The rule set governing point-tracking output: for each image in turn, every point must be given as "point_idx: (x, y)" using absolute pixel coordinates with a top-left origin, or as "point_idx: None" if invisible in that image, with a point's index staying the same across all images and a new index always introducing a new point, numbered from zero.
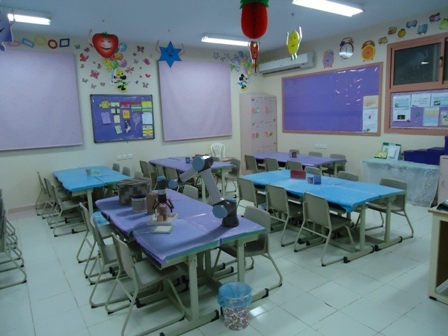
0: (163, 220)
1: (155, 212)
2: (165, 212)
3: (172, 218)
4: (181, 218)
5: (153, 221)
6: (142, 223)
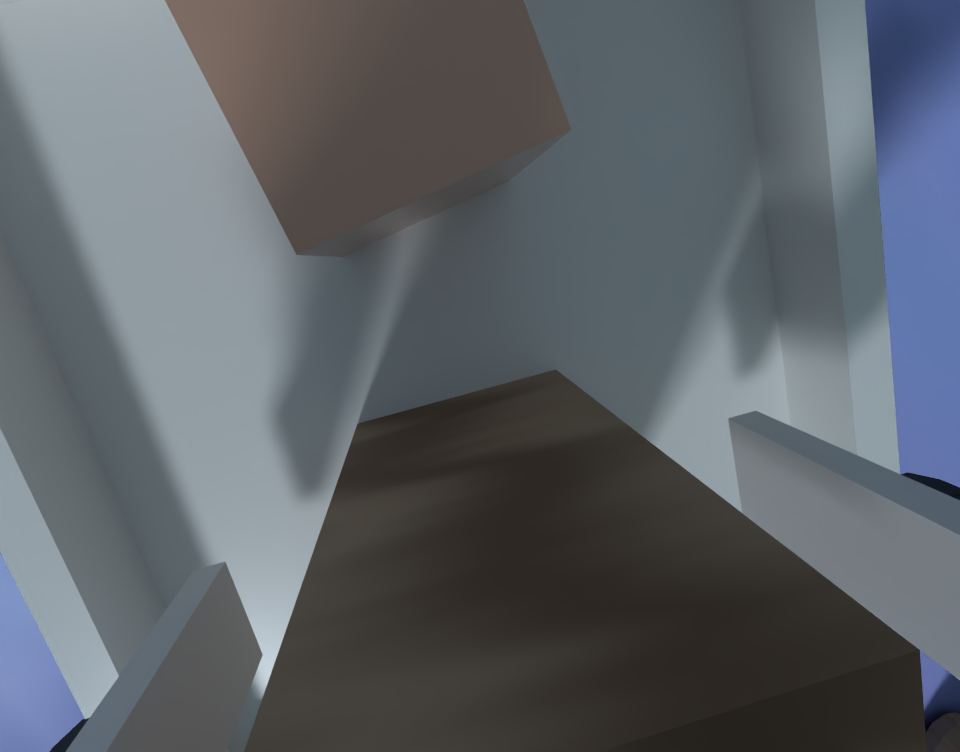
0: (429, 388)
1: (868, 471)
2: (315, 555)
3: (262, 620)
4: (57, 740)
5: (686, 218)
6: (945, 45)
